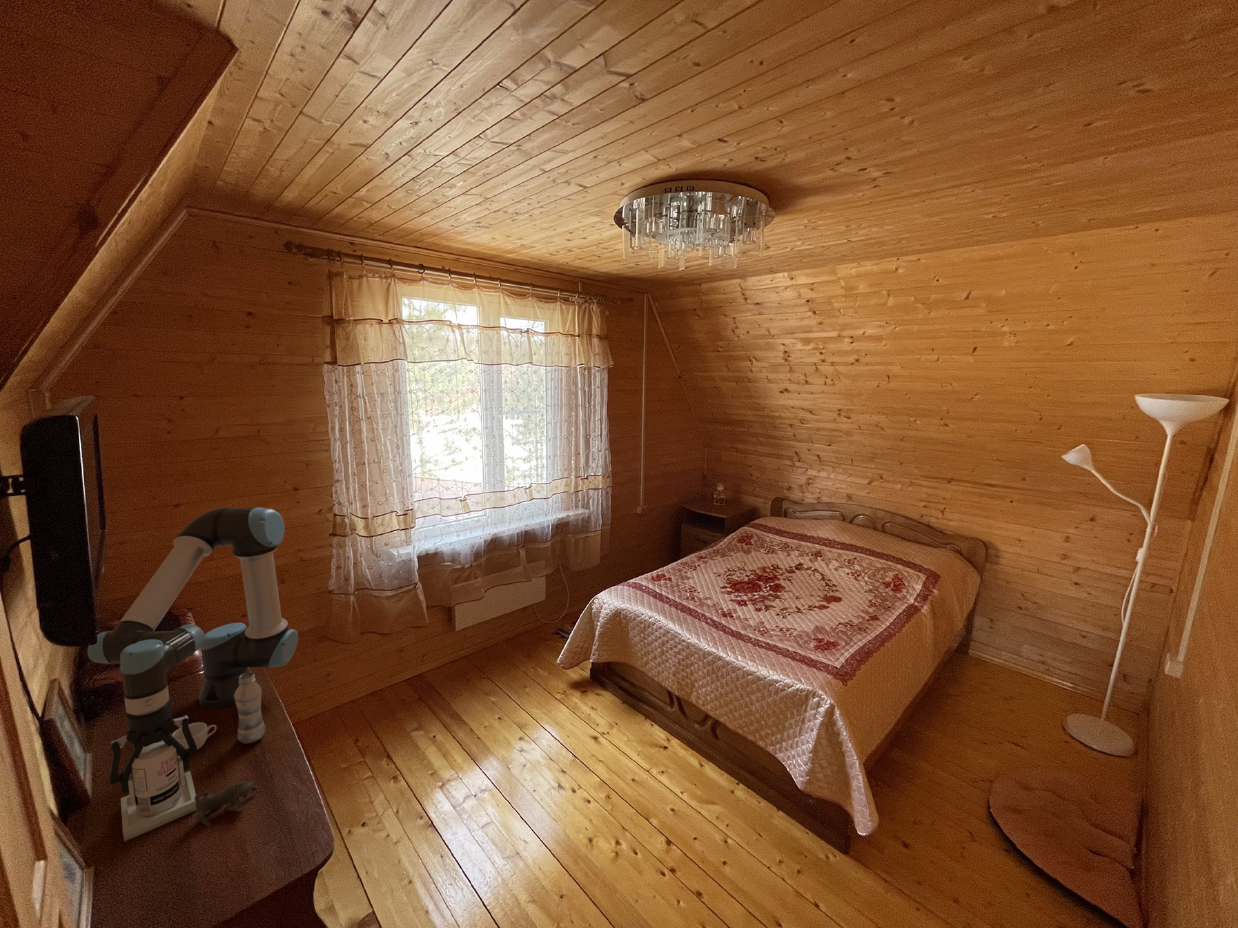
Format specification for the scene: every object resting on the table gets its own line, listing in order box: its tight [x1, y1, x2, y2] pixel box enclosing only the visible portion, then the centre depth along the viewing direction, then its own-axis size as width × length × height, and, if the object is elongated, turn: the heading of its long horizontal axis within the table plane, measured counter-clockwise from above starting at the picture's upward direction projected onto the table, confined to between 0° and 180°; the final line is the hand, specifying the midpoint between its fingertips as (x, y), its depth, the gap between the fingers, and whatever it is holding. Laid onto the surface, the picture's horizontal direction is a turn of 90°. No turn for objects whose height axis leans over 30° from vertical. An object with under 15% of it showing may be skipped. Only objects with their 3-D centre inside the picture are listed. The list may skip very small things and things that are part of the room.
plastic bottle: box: [234, 672, 266, 745], centre depth 147 cm, size 6×7×20 cm
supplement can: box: [131, 741, 182, 816], centre depth 123 cm, size 8×8×15 cm
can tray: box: [120, 770, 197, 843], centre depth 124 cm, size 13×13×2 cm
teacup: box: [171, 721, 217, 751], centre depth 145 cm, size 10×8×5 cm
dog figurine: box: [195, 780, 258, 827], centre depth 124 cm, size 12×6×7 cm, turn 129°
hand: (158, 791), depth 124 cm, fingers closed on supplement can, 8 cm apart
